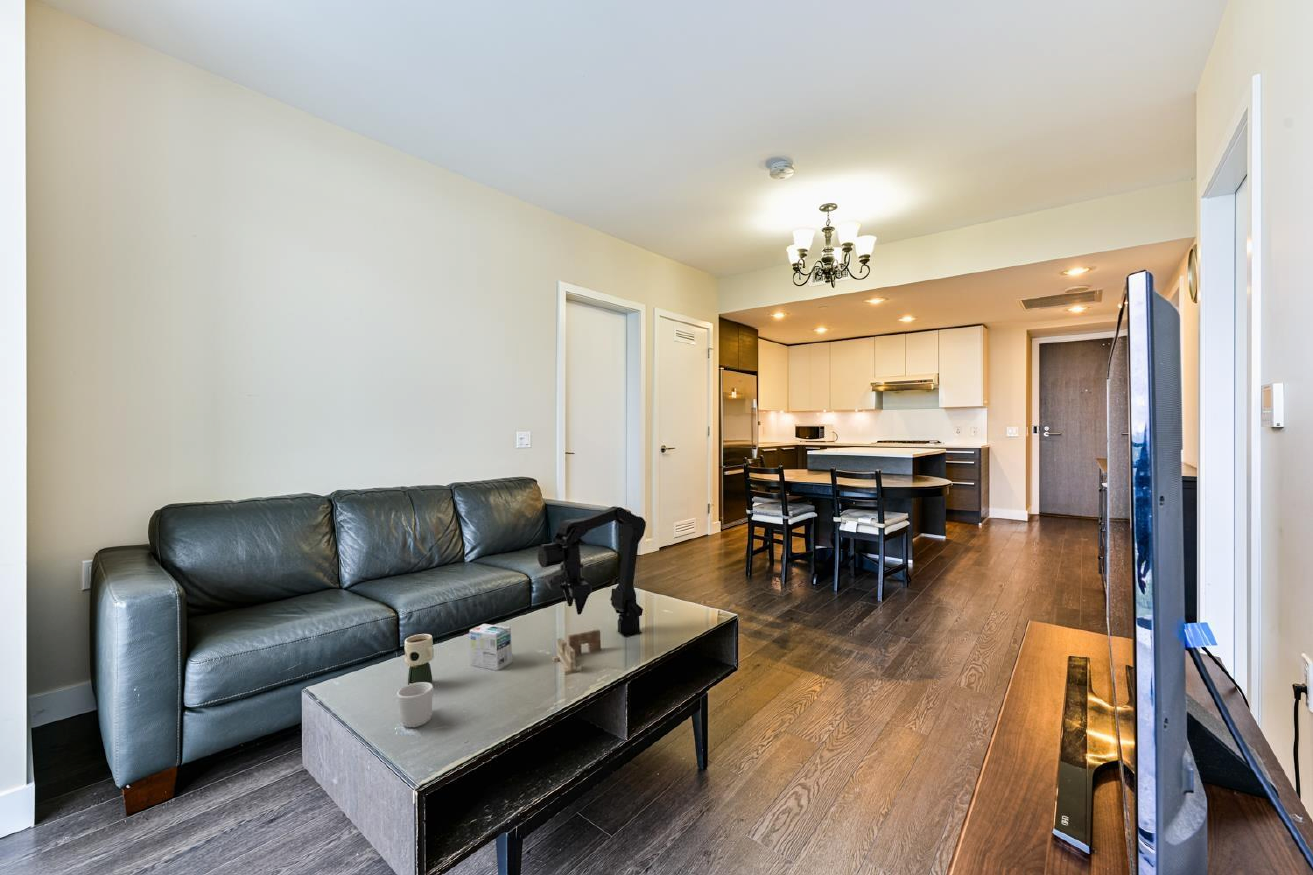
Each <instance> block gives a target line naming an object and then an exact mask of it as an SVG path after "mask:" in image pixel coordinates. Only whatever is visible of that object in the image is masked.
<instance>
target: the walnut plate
mask: <svg viewBox="0 0 1313 875" xmlns="http://www.w3.org/2000/svg"><path fill="white" fill-rule="evenodd" d="M567 638H568V639H567V640H568V643H567V645H568V646H570V647H571V648H572V649H573V650H574V651H575V657H576V656H579V655H580V656H581V655H582V645H585V644H587V645H588V647H587V648H588V652H589V653H592V652H593V653H594V652H597V651H601V650H602V645H601V643H602V642H601V630H600V629H594V630H590V631H584V632H580V633H575V634H570V635H568V636H567Z"/></svg>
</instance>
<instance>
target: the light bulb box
mask: <svg viewBox="0 0 1313 875" xmlns="http://www.w3.org/2000/svg"><path fill="white" fill-rule="evenodd" d="M511 628H512V627H511V626H503V625H495V624H488V623H482V624H480V625H478V626H475V627H473V628H471V629H469V647H470V648H469V650H470V651H469V653H470V654H469V655H470V666H471V667H479V668H483V669H489V670H494V671H499V670H501V669H503V668H504V667H506V666H508V665H509V664H512V663H513V649H512V647H513V646H512V629H511Z"/></svg>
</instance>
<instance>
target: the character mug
mask: <svg viewBox="0 0 1313 875" xmlns="http://www.w3.org/2000/svg"><path fill="white" fill-rule="evenodd" d="M404 655H405V656H404V662H405V664H406V665H407V666H409V668H408V676H407V685H409V684H413V683H418V682H427V683H431V684H432V682H433V675H432V669H431V664H430V663H429V662H431V661H432V660H434V657H435V656H434V655H435V654H434V645H433V636H432V634H429V633H421V634H419V633H418V634H414V635H411V636H409V637H407V638H405V639H404Z"/></svg>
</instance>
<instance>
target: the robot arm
mask: <svg viewBox="0 0 1313 875" xmlns="http://www.w3.org/2000/svg"><path fill="white" fill-rule="evenodd" d="M612 522H616V523H617V524H618V525H620V526H621V529H620V531H621V536H622V539H623V549H622V557H621V563H620V564H621V565H620V572H619V581H618V583H617V586H616V587H615V588H613V587H612V588H611V596H610V599H609V600H610V601H611V602H610V604H611V606H612V608H613V609H614V610H615V613H616V614H618V619H617V630H616V632H618V633H619V634H620V635H621V636H623V637H626V638H627V637H630V636H634V635H639V634H642V633H643V632H642V630H640V626H641V625H640V617H641V616H642V615H643V611H644V609H643V607H641V605H639V604H638V603H637V593H636V590H635V587H634V584H635V574H636V566H637V558H638V549H639V543H640V542H641V540H642V539H643V537H644V535H645V532H646V527H647V522H646V520H645V519H644V518H643V517H642V516H638V515H635V514H633V513H631V512H629V511H627V510H626V509H625V508H623V507H621V506H615V505H613V506H611V507H610V508H607V509H604V510H602V511H599V512H596V513H594V514H591V515H588V516H586V517H583V518H572V519H566V520H562V521H560V522H559V525H558V528H557V530H556V533H555V534H554V537H553V538H552V539H551V540H552V541H551V542H550V543H547V544H545V543H544V544H541V545H540V549H539V551H538V554H537V561H538V563H539V566H541V568H543V569H544V568H549V567H553V566H558V565H560V566H559V569H558V570H556V571H554V572H552V573H550V574H548V575H546V576H545V577H544V580H545V583H546V585H547V587H548V588H549V589H550V590H555V589H556V588H558V587H559V588H561V589H562V591H563V593H564V597H565V599H566V603H567V606H568V607H569V608H570V607H572V606H573V604H574V605H575V609H576V614H577V615H582V612H583V609H584V608H585V605H586V602H587V601H588V598H589V596H590V595H591V594H592V593H593V586H592V585H591V584H590V583H588V582H587V581H585V577H584V576H583V574H582V573H583V572H582V568H584V564H583V563H582V559H581V558H582V557H581V555H582V554H581V546H585V545H587V542H586V541H584V540H583V537H584V536H586V535H587V534H588V532H590V531H592V530H595V529H596V528H599V527H602V526H604V525H607V524H609V523H612Z"/></svg>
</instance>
